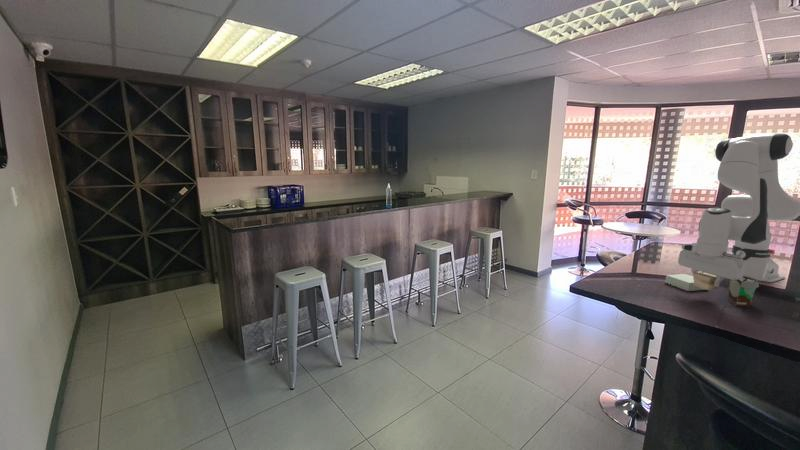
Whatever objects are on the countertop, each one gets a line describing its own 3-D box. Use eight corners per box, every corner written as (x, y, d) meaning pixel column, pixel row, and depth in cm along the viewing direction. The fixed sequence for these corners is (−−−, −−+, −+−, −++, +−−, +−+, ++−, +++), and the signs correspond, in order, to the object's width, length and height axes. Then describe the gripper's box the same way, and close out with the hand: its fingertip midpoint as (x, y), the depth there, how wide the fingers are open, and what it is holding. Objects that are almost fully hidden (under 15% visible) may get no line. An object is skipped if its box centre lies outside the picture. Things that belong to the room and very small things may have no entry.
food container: (760, 310, 116) (766, 285, 114) (737, 307, 119) (742, 281, 117) (747, 299, 126) (752, 275, 124) (726, 296, 129) (730, 272, 127)
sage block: (683, 282, 146) (684, 273, 145) (707, 290, 136) (708, 281, 136) (665, 283, 144) (666, 275, 144) (687, 291, 135) (689, 282, 134)
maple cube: (702, 284, 129) (704, 272, 128) (717, 288, 125) (719, 276, 124) (693, 285, 128) (695, 273, 127) (707, 289, 124) (709, 277, 123)
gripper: (751, 256, 114) (744, 292, 117) (689, 243, 134) (684, 274, 136) (738, 257, 113) (731, 293, 115) (677, 244, 133) (673, 275, 135)
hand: (705, 283), depth 126 cm, fingers closed on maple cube, 5 cm apart
